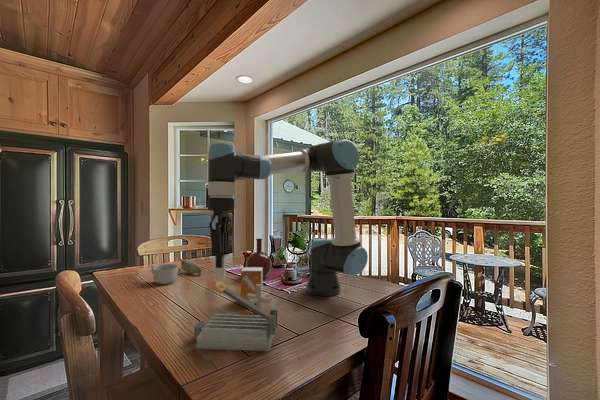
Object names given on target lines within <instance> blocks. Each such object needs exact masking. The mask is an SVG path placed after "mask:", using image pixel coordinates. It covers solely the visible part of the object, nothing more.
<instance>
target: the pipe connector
mask: <svg viewBox="0 0 600 400" xmlns="http://www.w3.org/2000/svg"><path fill="white" fill-rule="evenodd" d="M261 291H262V292H263V288H262V285H261V284H257V285H256V295H254V294H250V293H248V294H247V298H248V299H250V300H248V301H249V302H251V303H253V304H254V305H256V306H257V307H259V308H261V309H262V303H265V304H271V303H272V298H271V297H270V293H269V292H268V291H267V292H265V293H262V295H261ZM269 297H270V298H269ZM255 303H256V304H255Z"/></svg>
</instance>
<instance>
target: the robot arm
mask: <svg viewBox="0 0 600 400" xmlns="http://www.w3.org/2000/svg"><path fill="white" fill-rule="evenodd" d="M358 150H359V149H358V147H357V146H356V145H355V144H354V143H353V142H352V141H350V140H349V139H337V140H332V141H328V142H323V143H319V144H314V145H313V146H309V147H305V148H299V149H297V150H296V151H291V152H283V153H282V152H281V153H275V154H266V155H265V154H264V155H260V154H249V153H241V152H240V153H239V152H237V151H236V147H235V145H234V144H230V143H228V142H227V143H226V142H215V143H212V144H210V145H209V147H208V156H207V157H208V158H207V161H208V162H207V164H208V166H207V167H208V170H207V173H208V179H207V182H208V183H207V186H206V189H207V195H208V196H210V197H208V198H207V210H208V211H210V212H213V216H212V220H211V221H212V222H211V221H210V222H209V223H208V225H209V226H208V227H209V231H210V232H209V233H210V241H211V243H210V244H211V256H212V257H214V279H215V280H217V279H219V280H221V279H222V280H224V279H225V278H226V276H227V275H226V271H227V269H226V267H227V256H228V255H230V252H229V245H230V234H231V226H232V225H231V224H232V219H230V216H229V212H232V211H234V210H235V198H234V196H235V195H236V194H235V192H236V185H235V184H236V181H241V180H257V181H258V180H267V179H268V178H269V176H271V175H276V174H277V175H278V174H284V173H291V172H297V171H298V172H301V173H306V172H324V177H325V178H326V179H327V180H328V181H329V190H330V191H329V192H330V202H331V203H330V204H331V211H332V212H331V213H332V223H333V233H334V238H325V239H324V238H322V239H315V240H313V241H311V244H310V245H311V246H310V274H309V277H308V281H307V284H306V292H307V293H308V294H310V295H314V296H321V297H322V296H323V297H325V296H326V297H328V296H329V297H331V296H332V297H333V296H335V295H338V294H340V293H341V290H342V289H341V283H340V281H339V280H340V279H339V276H338V273H342V274H344V275H346V276H347V275H348V276H358V275H360V274H361V273H362V272H364V270H365V268H366V266H367V263H368V258H369V256H368V255H369V254H368V251H367V250H366V249H365V247H363V246H361V240H360V239H359V238H358V237H357V235H356V222H355V212H354V201H353V199H354V198H353V189H352V188H353V187H352V177H353V175H354V174H355V168H356V167H358V165H359V162H360V154H359V151H358Z"/></svg>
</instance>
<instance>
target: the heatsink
mask: <svg viewBox="0 0 600 400" xmlns="http://www.w3.org/2000/svg"><path fill="white" fill-rule="evenodd" d="M269 311H270V313H269V314H270V315H268V320H267V319H265V318H263V317H262V316H260V315H258V314H257V315H255V314H253V315H252V314H230V313H229V314H226V313H225V314H224V313H223V314H222V313H214V314H213V316H211V317H210V320H208V321H207V323H206V321H205V320H204V321H203V320H199V322H198V323H196V325H195V326H194V329H193V333H194V336H193V338H194V340H193V341H194V342H196V345H195V346H196V347H195V348H196V349H202V350H203V349H204V350H231V351H252V352H253V351H255V352H256V351H257V352H270V350H271V347H272V344H273V341H274V337H275V335H276V328H278V319H279V318H278V315H279V313H278V309H277V308H271V309H270V310H269Z"/></svg>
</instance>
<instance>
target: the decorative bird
mask: <svg viewBox="0 0 600 400" xmlns="http://www.w3.org/2000/svg"><path fill="white" fill-rule="evenodd" d="M179 261H180V262H181V264H180V266H181V268H178V269H177V273H181V272H185V273H187V274H191V275H195V274H197V275H198V276H199V277H200V276H202V271H203V269H202V266H201V265H200V264H198V263H196V262H195V263H194V262H193V261H189V260H187V259H184V258H180V259H179Z"/></svg>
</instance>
